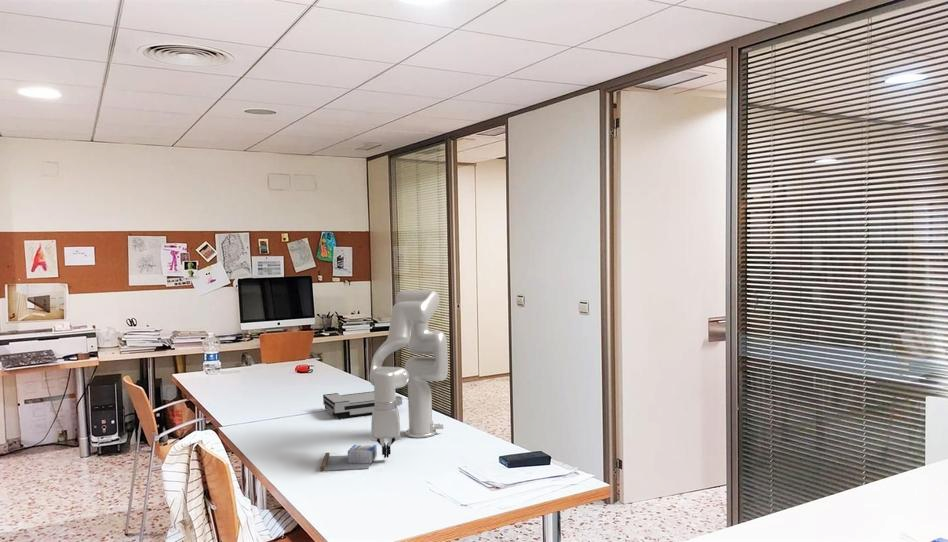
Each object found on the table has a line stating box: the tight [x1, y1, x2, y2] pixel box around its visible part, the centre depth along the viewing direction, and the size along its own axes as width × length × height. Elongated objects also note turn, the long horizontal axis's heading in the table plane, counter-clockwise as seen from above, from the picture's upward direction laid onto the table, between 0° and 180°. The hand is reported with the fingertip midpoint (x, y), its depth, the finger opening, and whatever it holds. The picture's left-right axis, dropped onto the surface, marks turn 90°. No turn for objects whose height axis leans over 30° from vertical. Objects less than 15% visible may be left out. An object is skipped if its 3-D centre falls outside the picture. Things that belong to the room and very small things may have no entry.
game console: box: [322, 390, 403, 420], centre depth 320 cm, size 21×32×8 cm, turn 117°
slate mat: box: [323, 454, 370, 472], centre depth 241 cm, size 16×16×1 cm
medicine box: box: [347, 444, 378, 464], centre depth 243 cm, size 8×4×9 cm
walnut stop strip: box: [319, 452, 331, 473], centre depth 241 cm, size 1×16×2 cm, turn 6°
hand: (386, 456), depth 243 cm, fingers closed
